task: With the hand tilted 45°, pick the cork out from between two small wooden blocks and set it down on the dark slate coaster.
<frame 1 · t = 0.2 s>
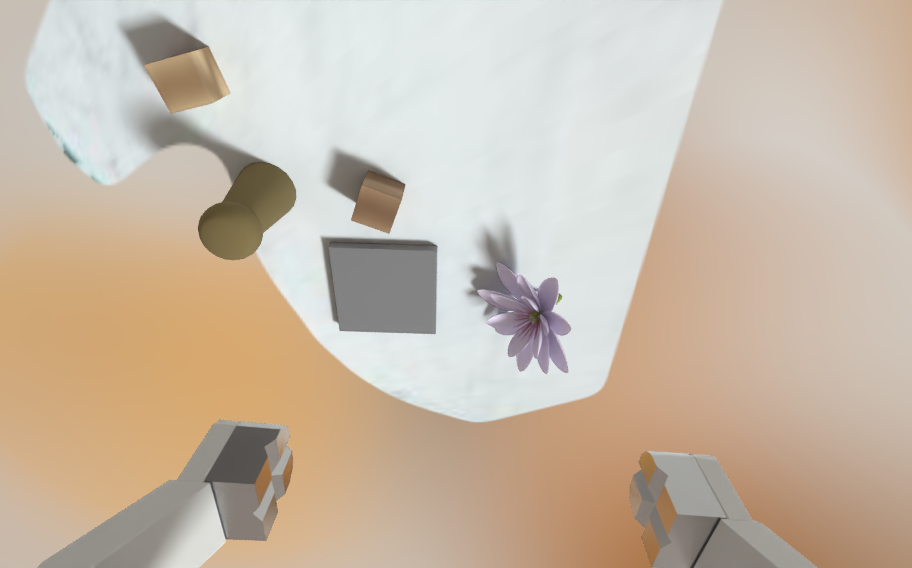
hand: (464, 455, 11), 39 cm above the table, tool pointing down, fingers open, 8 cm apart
coaster: (386, 287, 55), on the table
oak block: (200, 75, 42), on the table
walnut block: (381, 194, 49), on the table
water lily: (518, 291, 56), on the table
cork: (267, 189, 49), on the table
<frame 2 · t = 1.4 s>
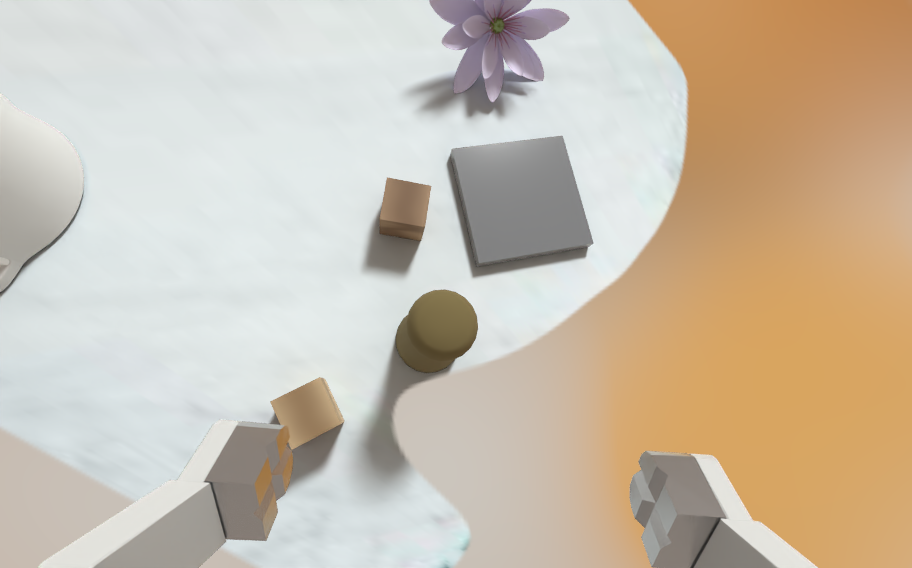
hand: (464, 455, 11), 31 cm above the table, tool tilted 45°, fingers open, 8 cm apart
coaster: (519, 200, 47), on the table
oak block: (312, 411, 39), on the table
walnut block: (403, 218, 45), on the table
water lily: (485, 67, 51), on the table
cork: (428, 339, 43), on the table
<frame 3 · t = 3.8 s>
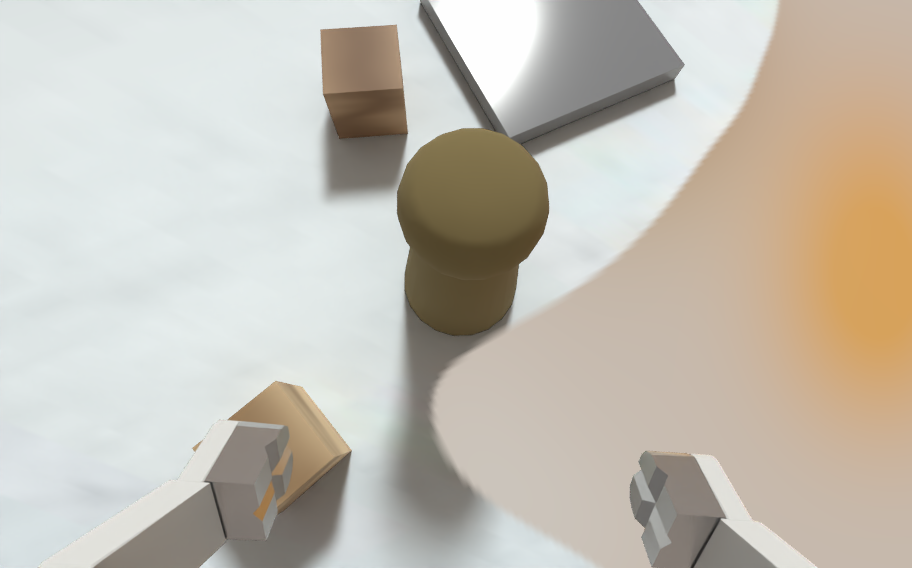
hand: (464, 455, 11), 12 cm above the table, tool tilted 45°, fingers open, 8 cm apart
coaster: (545, 39, 29), on the table
oak block: (293, 446, 22), on the table
walnut block: (371, 108, 28), on the table
cork: (460, 281, 25), on the table
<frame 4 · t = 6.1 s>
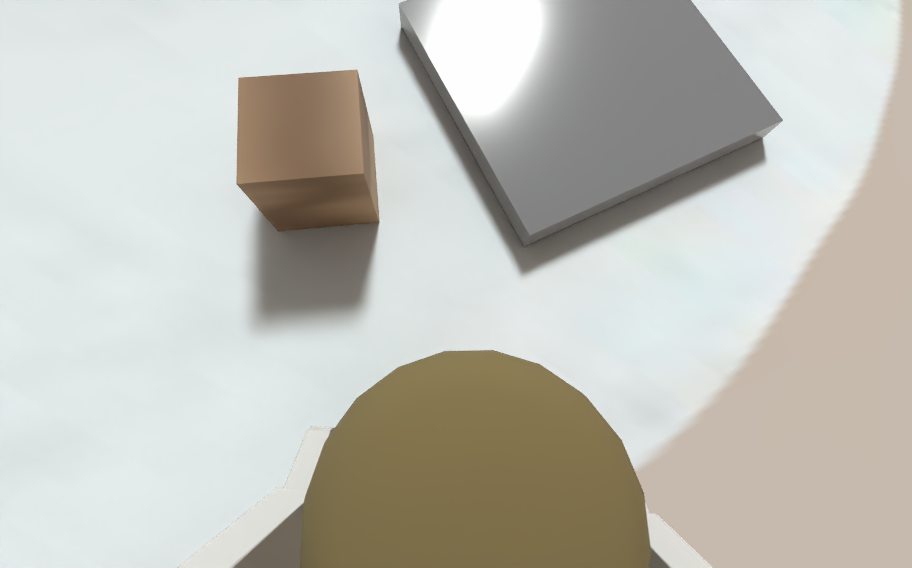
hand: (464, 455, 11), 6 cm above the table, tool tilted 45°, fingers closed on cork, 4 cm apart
coaster: (577, 80, 21), on the table
walnut block: (327, 182, 19), on the table
cork: (454, 460, 16), on the table, touching gripper
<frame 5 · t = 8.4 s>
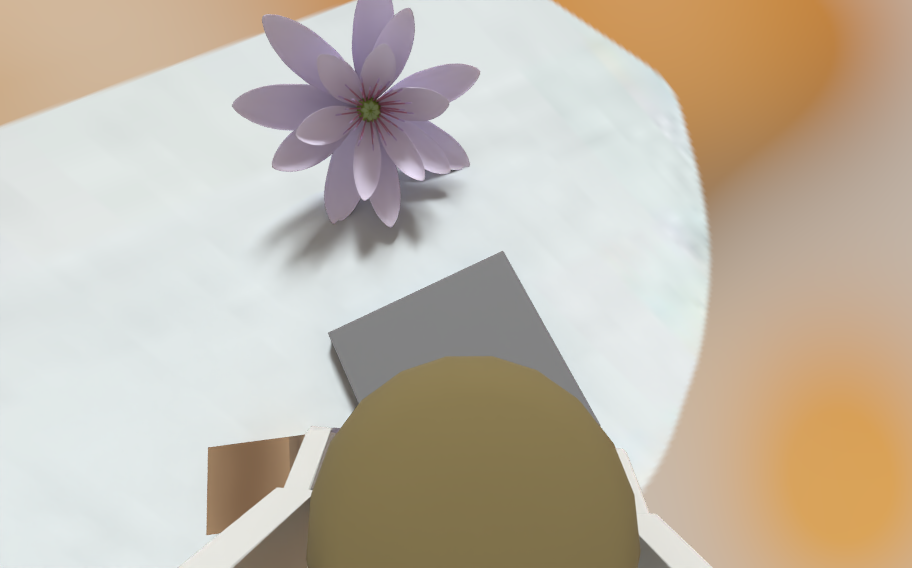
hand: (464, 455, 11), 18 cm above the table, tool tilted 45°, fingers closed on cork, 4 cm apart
coaster: (461, 380, 28), on the table
walnut block: (276, 474, 27), on the table
water lily: (377, 167, 33), on the table
cork: (454, 461, 17), point 11 cm above the table, touching gripper
when the fingers open (8 cm above the table, at t = 10.8 s): cork moves 3 cm, resting on coaster.
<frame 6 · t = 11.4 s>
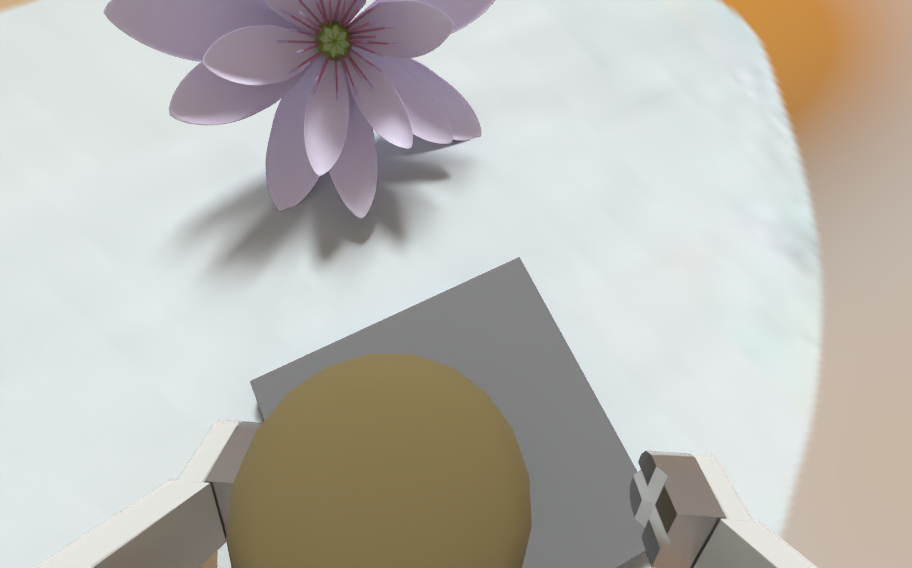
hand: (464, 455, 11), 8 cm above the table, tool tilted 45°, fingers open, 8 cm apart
coaster: (454, 453, 19), on the table
water lily: (349, 134, 23), on the table
cork: (387, 456, 17), point 1 cm above the table, touching coaster, gripper
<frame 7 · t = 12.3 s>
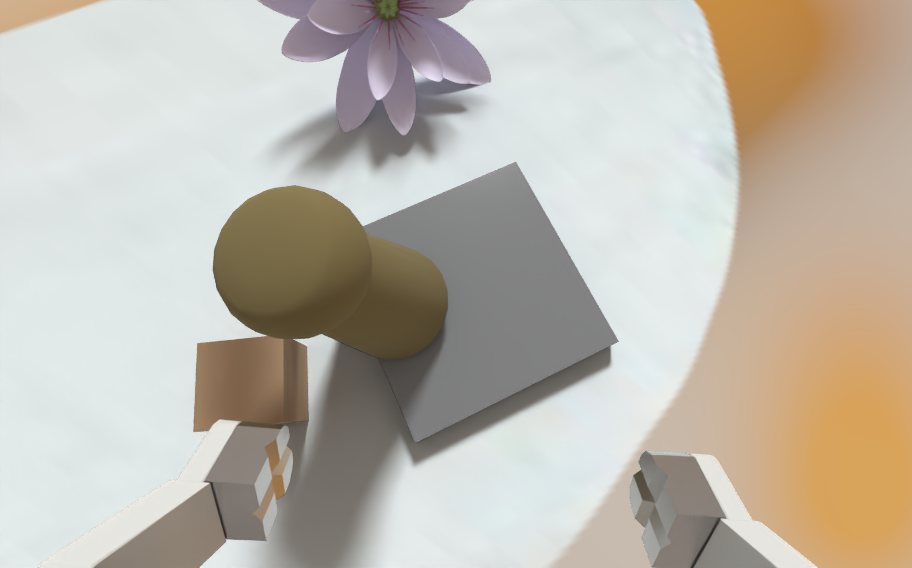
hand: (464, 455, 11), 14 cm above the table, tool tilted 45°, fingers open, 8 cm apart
coaster: (468, 295, 27), on the table
walnut block: (271, 387, 25), on the table
water lily: (393, 80, 31), on the table
cork: (395, 303, 25), point 2 cm above the table, touching coaster
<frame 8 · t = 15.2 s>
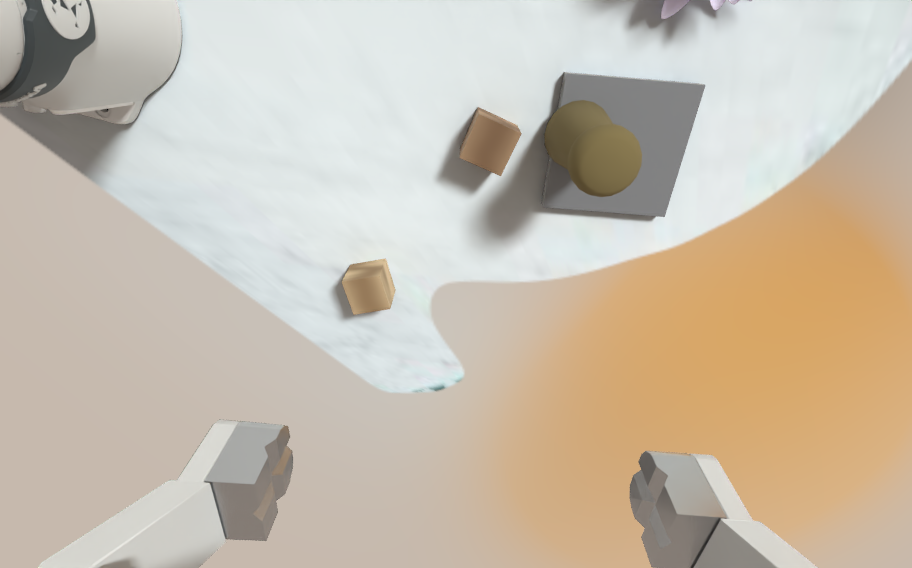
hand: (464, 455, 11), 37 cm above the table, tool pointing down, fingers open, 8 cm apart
coaster: (615, 147, 43), on the table
oak block: (373, 277, 51), on the table
walnut block: (488, 136, 43), on the table
cork: (577, 135, 42), point 1 cm above the table, touching coaster
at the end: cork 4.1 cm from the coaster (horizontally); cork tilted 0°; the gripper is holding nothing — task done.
